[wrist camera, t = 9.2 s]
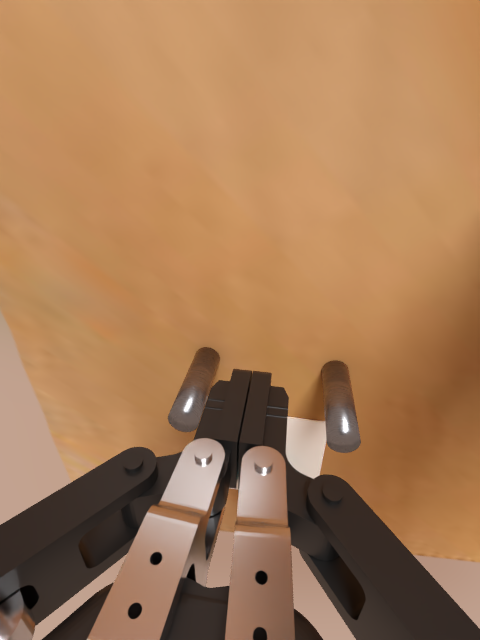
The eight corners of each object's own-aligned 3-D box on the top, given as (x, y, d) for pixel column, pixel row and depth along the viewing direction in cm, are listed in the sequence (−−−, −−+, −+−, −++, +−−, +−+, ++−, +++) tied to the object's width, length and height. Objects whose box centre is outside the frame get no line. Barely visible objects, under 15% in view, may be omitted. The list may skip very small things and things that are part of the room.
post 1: (219, 348, 37) (197, 411, 29) (219, 368, 38) (199, 433, 31) (195, 346, 37) (166, 407, 30) (196, 366, 39) (169, 429, 31)
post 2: (350, 362, 35) (363, 432, 28) (346, 382, 37) (357, 454, 29) (323, 359, 36) (329, 427, 28) (320, 379, 37) (324, 450, 29)
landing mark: (329, 421, 40) (329, 423, 40) (314, 499, 47) (314, 500, 47) (205, 406, 41) (205, 407, 41) (208, 483, 48) (208, 485, 48)
